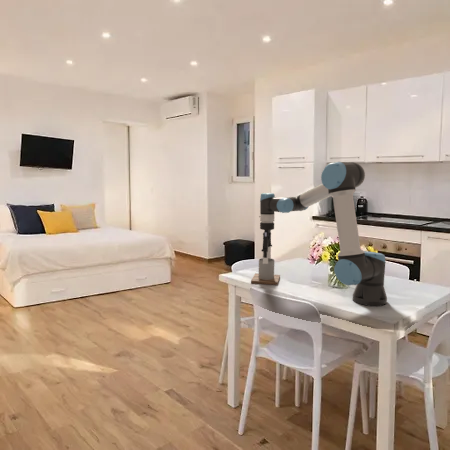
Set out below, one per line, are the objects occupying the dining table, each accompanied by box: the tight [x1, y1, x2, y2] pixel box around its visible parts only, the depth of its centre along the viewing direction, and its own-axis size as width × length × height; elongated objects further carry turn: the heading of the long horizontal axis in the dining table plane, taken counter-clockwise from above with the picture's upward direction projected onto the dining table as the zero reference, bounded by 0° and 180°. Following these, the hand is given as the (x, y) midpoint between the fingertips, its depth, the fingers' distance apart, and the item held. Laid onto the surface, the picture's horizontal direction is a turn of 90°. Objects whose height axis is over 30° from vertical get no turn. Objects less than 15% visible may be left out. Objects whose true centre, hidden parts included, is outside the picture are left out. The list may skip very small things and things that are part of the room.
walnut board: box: [250, 272, 281, 286], centre depth 233 cm, size 16×14×2 cm
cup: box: [258, 257, 275, 280], centre depth 232 cm, size 8×8×10 cm
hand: (266, 261), depth 231 cm, fingers open, 13 cm apart
